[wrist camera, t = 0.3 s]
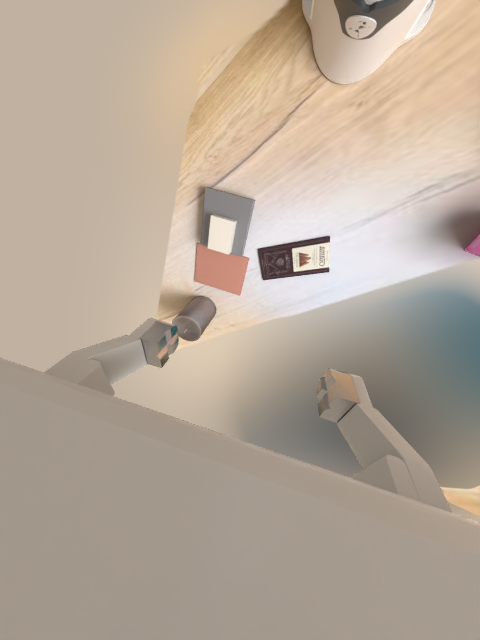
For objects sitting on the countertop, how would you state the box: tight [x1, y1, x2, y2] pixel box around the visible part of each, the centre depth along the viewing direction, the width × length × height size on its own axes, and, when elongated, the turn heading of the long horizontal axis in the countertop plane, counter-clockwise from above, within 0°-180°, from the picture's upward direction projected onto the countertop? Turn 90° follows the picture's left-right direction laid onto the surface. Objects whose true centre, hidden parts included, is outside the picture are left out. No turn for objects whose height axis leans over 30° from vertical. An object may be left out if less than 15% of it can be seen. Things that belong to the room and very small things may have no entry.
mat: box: [195, 243, 249, 295], centre depth 57 cm, size 12×16×1 cm
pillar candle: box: [172, 296, 216, 341], centre depth 62 cm, size 10×10×15 cm
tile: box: [208, 214, 237, 255], centre depth 48 cm, size 8×6×2 cm
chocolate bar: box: [258, 236, 330, 280], centre depth 51 cm, size 9×1×18 cm
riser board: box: [201, 188, 255, 257], centre depth 49 cm, size 14×12×2 cm
